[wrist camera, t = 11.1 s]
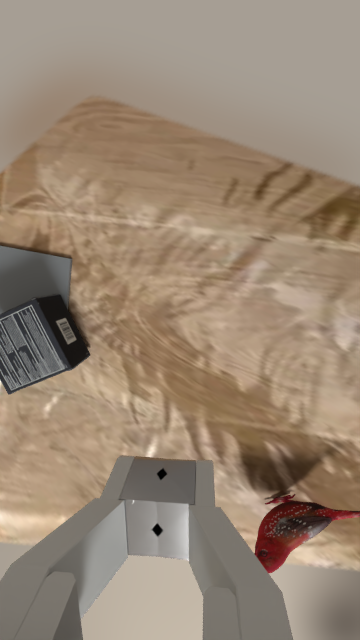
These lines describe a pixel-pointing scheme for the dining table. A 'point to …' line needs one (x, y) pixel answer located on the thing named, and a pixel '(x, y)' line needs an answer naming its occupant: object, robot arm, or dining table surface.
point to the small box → (38, 342)
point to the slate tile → (31, 276)
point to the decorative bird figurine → (291, 528)
